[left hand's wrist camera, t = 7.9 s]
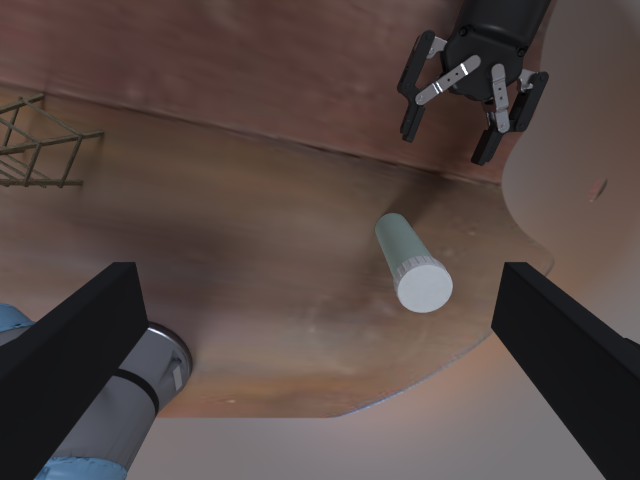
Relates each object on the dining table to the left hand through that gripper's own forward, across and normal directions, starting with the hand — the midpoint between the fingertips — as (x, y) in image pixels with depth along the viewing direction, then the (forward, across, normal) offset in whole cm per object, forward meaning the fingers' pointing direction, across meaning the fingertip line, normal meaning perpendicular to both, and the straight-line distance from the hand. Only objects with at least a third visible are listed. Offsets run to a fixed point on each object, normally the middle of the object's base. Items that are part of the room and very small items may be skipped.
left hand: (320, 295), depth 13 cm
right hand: (+29, +14, +1) cm, 32 cm away
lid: (+19, +10, -10) cm, 24 cm away
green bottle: (+36, +10, -10) cm, 38 cm away
